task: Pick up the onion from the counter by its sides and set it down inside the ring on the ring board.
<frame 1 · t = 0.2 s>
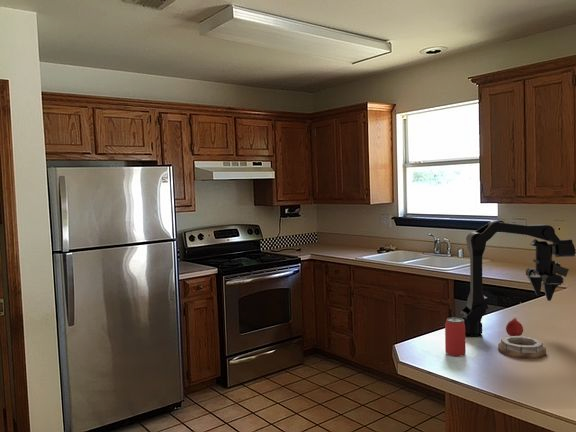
hand: (543, 297, 187), 14 cm above the countertop, fingers open, 9 cm apart
onion: (514, 339, 183), on the countertop
beer can: (455, 354, 169), on the countertop
ring board: (521, 351, 169), on the countertop
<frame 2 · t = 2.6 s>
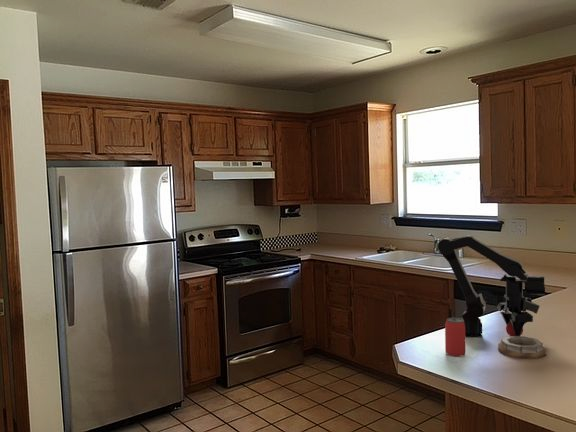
hand: (514, 334, 183), 2 cm above the countertop, fingers closed on onion, 6 cm apart
onion: (514, 339, 183), on the countertop, touching gripper
everything else where it was.
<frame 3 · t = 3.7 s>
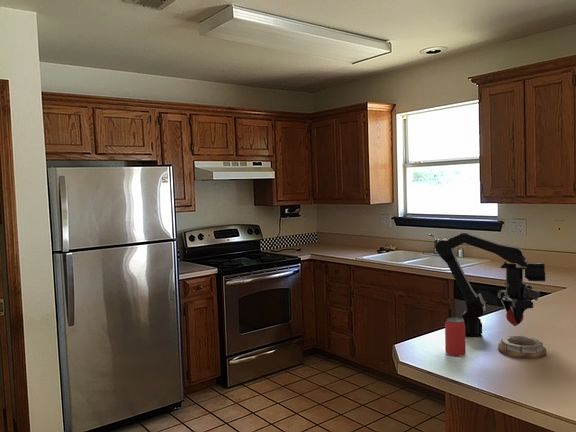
hand: (514, 321, 182), 7 cm above the countertop, fingers closed on onion, 6 cm apart
onion: (514, 326, 182), point 5 cm above the countertop, touching gripper
everything else where it was.
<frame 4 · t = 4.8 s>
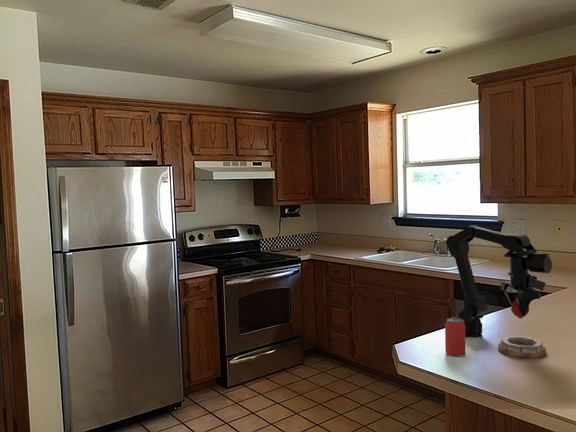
hand: (519, 313, 173), 12 cm above the countertop, fingers closed on onion, 6 cm apart
onion: (520, 319, 173), point 10 cm above the countertop, touching gripper
everything else where it was.
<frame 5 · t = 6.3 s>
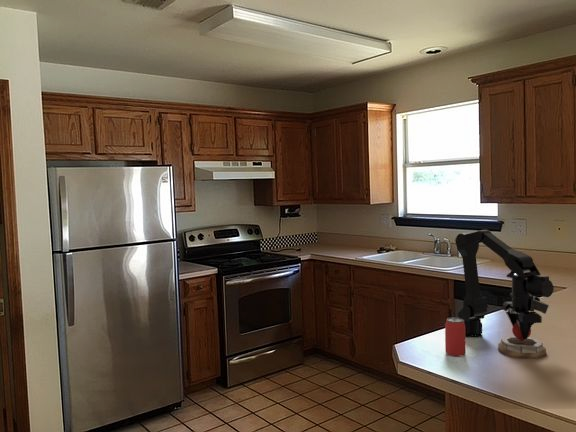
hand: (521, 336, 169), 5 cm above the countertop, fingers closed on onion, 6 cm apart
onion: (521, 341, 169), point 3 cm above the countertop, touching gripper
everything else where it was.
when the fingers open (5 cm above the countertop, at t = 7.3 s): onion drops 1 cm, resting on ring board.
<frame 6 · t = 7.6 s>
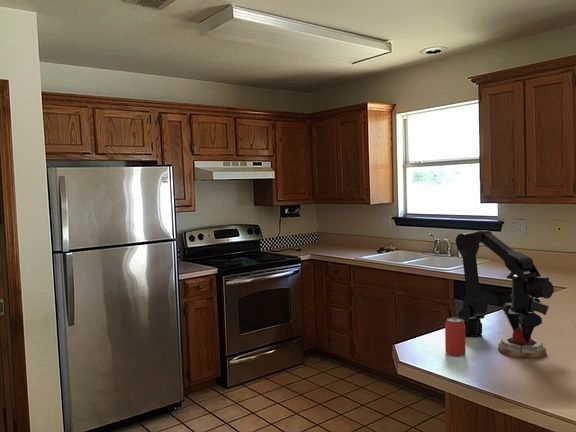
hand: (521, 337, 169), 5 cm above the countertop, fingers open, 9 cm apart
onion: (521, 347, 169), point 1 cm above the countertop, touching ring board
everything else where it was.
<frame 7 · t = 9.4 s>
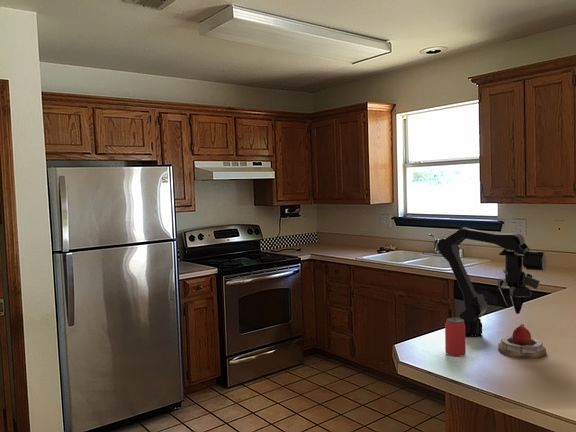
hand: (513, 310, 179), 12 cm above the countertop, fingers open, 9 cm apart
nothing on the countertop moved.
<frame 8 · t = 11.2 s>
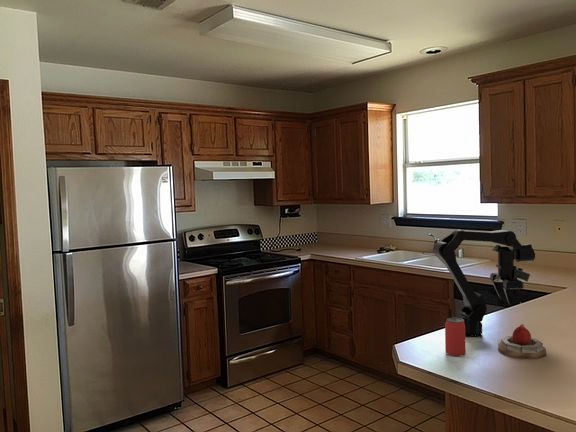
hand: (506, 302, 190), 12 cm above the countertop, fingers open, 9 cm apart
nothing on the countertop moved.
at the end: onion 0.1 cm off-centre on the ring board, point 1.3 cm above the ring board's base; the gripper is holding nothing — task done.
